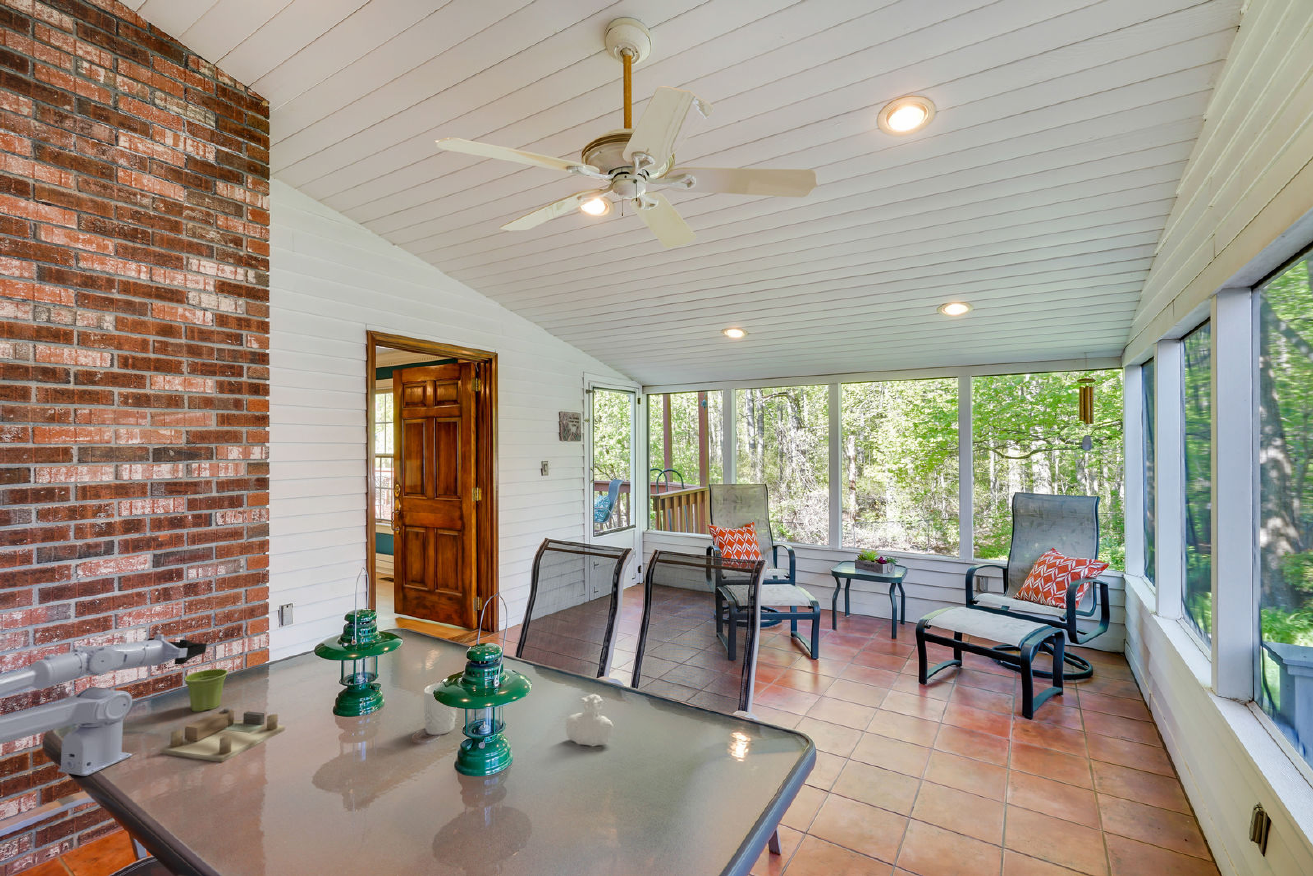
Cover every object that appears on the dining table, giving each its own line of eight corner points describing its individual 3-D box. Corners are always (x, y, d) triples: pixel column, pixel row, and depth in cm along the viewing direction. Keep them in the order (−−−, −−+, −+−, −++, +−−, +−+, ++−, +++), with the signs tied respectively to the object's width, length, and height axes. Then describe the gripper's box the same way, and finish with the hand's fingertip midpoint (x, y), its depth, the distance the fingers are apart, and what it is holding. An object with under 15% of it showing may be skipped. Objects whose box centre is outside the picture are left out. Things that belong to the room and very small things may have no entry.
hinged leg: (225, 721, 154) (226, 706, 154) (237, 722, 154) (237, 707, 154) (184, 739, 144) (185, 723, 144) (196, 741, 143) (197, 725, 143)
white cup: (462, 723, 157) (462, 683, 158) (448, 737, 149) (449, 694, 150) (432, 721, 158) (433, 682, 158) (417, 735, 150) (418, 693, 150)
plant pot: (210, 715, 161) (211, 681, 162) (174, 714, 161) (175, 680, 162) (235, 701, 171) (236, 669, 171) (201, 700, 171) (202, 668, 171)
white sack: (613, 753, 146) (624, 704, 153) (604, 744, 141) (615, 693, 148) (567, 746, 150) (579, 698, 157) (556, 737, 144) (569, 688, 151)
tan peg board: (222, 762, 136) (223, 743, 136) (160, 753, 140) (161, 735, 140) (285, 729, 153) (285, 713, 153) (228, 722, 156) (228, 706, 157)
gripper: (163, 637, 142) (218, 632, 154) (115, 635, 145) (173, 629, 158) (157, 670, 140) (213, 661, 153) (109, 667, 144) (168, 659, 157)
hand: (192, 647), depth 155 cm, fingers open, 7 cm apart
